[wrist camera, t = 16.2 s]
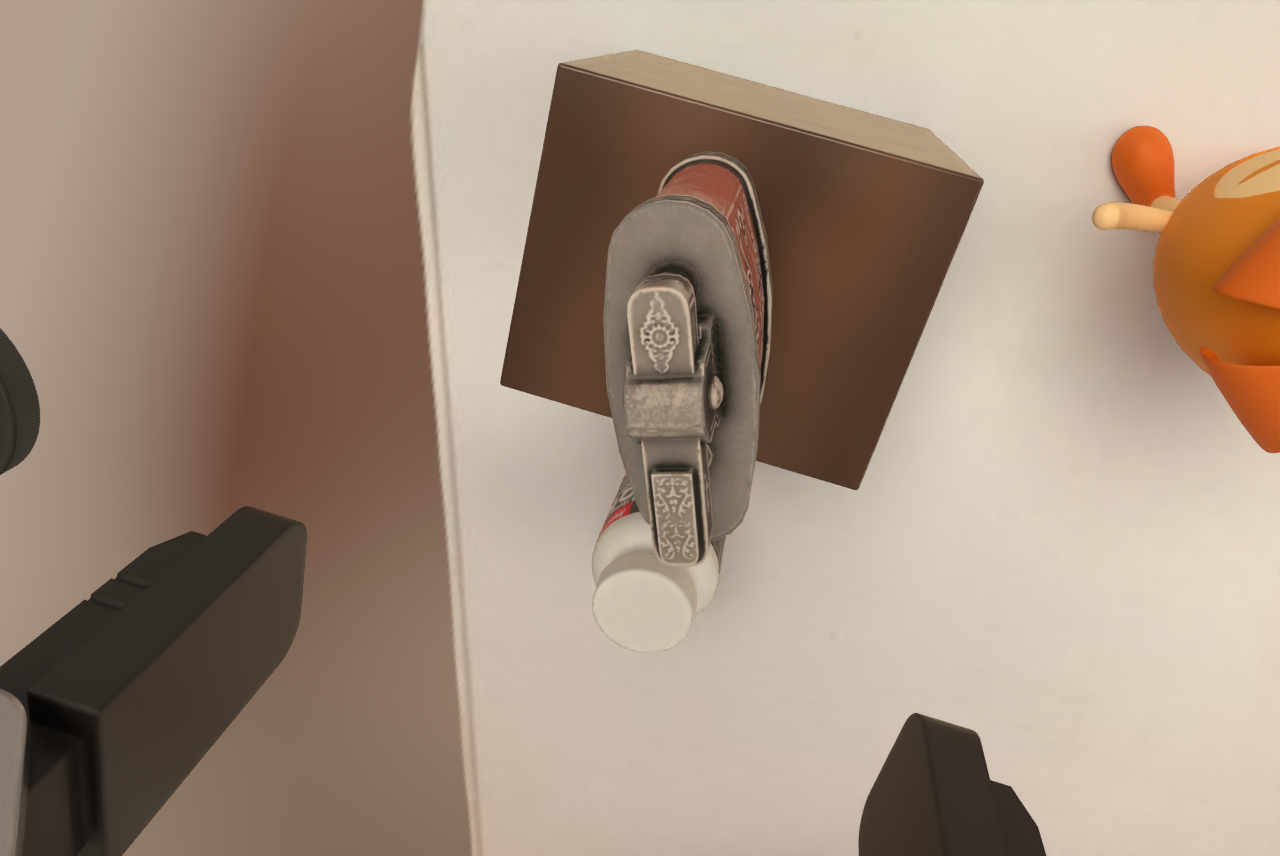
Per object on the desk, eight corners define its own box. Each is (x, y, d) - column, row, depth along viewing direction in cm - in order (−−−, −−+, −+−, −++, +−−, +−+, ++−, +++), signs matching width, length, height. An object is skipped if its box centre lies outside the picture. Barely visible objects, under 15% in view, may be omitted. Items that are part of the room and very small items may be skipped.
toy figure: (1397, 146, 32) (1823, 239, 18) (1287, 348, 35) (1577, 550, 22) (1066, 78, 33) (1243, 119, 19) (991, 282, 36) (1095, 436, 23)
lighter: (645, 156, 25) (551, 232, 16) (766, 146, 24) (739, 220, 15) (670, 418, 28) (603, 604, 19) (778, 416, 27) (761, 607, 18)
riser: (583, 286, 39) (498, 385, 29) (635, 49, 35) (557, 62, 24) (844, 361, 39) (858, 492, 28) (931, 129, 34) (985, 179, 24)
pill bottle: (629, 432, 42) (581, 541, 33) (741, 454, 42) (722, 570, 33) (616, 528, 44) (569, 653, 36) (722, 549, 44) (700, 682, 35)
